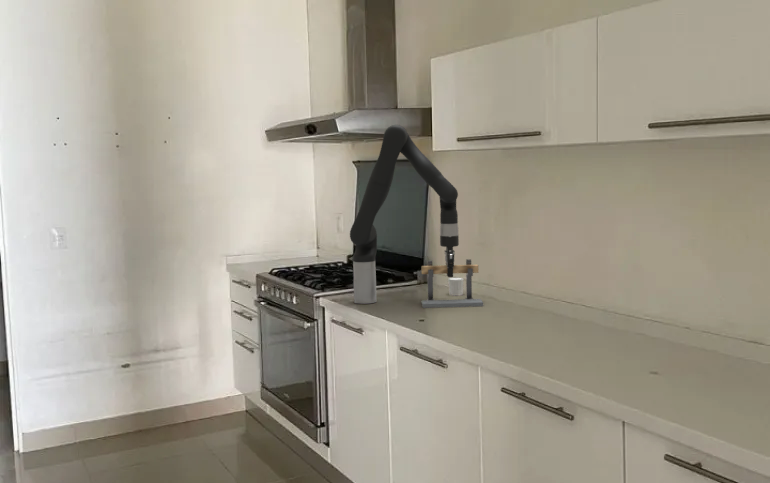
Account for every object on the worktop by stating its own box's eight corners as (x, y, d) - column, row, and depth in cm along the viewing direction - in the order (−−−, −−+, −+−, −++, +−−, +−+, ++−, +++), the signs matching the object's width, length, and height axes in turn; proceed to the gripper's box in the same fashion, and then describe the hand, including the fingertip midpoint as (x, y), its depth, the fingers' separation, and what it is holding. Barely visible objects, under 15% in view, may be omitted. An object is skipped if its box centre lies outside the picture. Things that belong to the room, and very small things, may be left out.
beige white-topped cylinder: (466, 295, 327) (465, 279, 326) (450, 296, 325) (450, 280, 324) (460, 292, 333) (460, 277, 333) (446, 293, 332) (445, 277, 331)
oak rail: (421, 274, 309) (421, 266, 309) (421, 273, 312) (421, 265, 312) (478, 272, 309) (478, 265, 309) (477, 271, 312) (477, 264, 312)
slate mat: (422, 307, 301) (422, 304, 301) (421, 304, 309) (421, 300, 309) (483, 306, 301) (483, 302, 301) (480, 302, 309) (480, 298, 309)
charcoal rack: (427, 303, 309) (426, 262, 308) (426, 301, 315) (426, 260, 314) (474, 302, 309) (473, 261, 308) (472, 299, 316) (472, 259, 314)
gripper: (438, 233, 316) (439, 274, 318) (441, 236, 302) (442, 279, 304) (456, 232, 316) (457, 273, 318) (460, 235, 302) (460, 278, 304)
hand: (449, 276), depth 311 cm, fingers closed on oak rail, 3 cm apart
